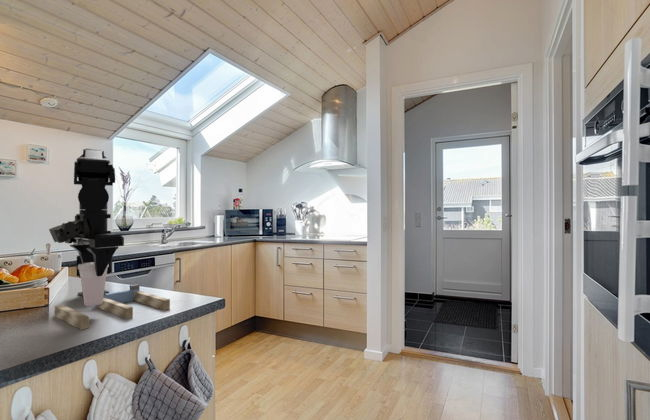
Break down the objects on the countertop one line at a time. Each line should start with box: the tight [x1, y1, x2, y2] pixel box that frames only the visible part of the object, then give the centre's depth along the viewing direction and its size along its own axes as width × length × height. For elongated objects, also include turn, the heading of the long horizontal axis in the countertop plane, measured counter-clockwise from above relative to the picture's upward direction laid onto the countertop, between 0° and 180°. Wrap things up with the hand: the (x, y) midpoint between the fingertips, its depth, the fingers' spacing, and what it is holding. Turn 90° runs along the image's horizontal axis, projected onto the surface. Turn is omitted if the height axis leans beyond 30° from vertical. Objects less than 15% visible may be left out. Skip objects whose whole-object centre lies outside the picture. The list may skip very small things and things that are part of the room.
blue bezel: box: [94, 283, 140, 309], centre depth 101 cm, size 2×11×4 cm, turn 143°
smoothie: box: [78, 262, 109, 307], centre depth 88 cm, size 6×6×14 cm
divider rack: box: [54, 290, 171, 330], centre depth 92 cm, size 16×20×2 cm
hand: (93, 274), depth 88 cm, fingers closed on smoothie, 6 cm apart
